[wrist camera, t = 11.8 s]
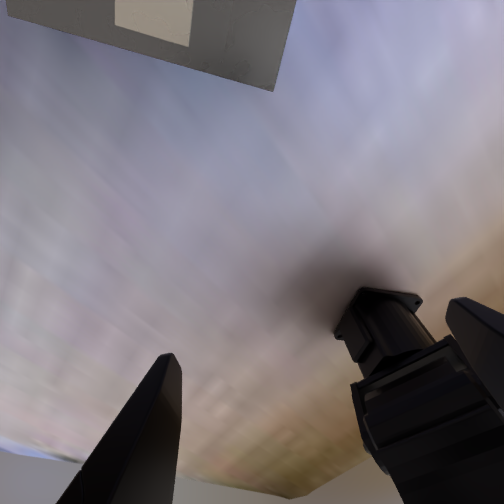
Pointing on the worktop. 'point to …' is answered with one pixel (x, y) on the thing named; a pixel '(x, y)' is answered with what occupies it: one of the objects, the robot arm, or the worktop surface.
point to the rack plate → (179, 31)
